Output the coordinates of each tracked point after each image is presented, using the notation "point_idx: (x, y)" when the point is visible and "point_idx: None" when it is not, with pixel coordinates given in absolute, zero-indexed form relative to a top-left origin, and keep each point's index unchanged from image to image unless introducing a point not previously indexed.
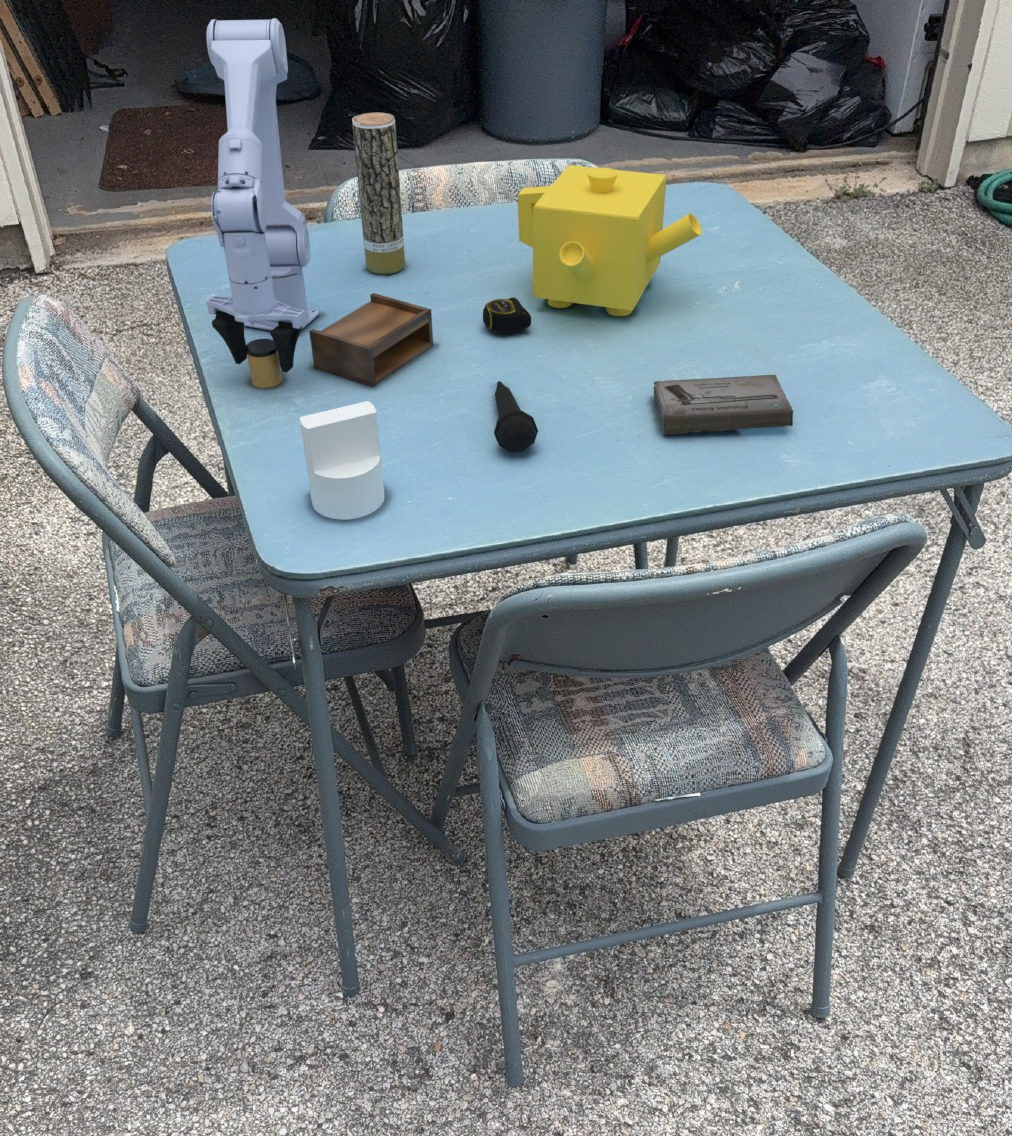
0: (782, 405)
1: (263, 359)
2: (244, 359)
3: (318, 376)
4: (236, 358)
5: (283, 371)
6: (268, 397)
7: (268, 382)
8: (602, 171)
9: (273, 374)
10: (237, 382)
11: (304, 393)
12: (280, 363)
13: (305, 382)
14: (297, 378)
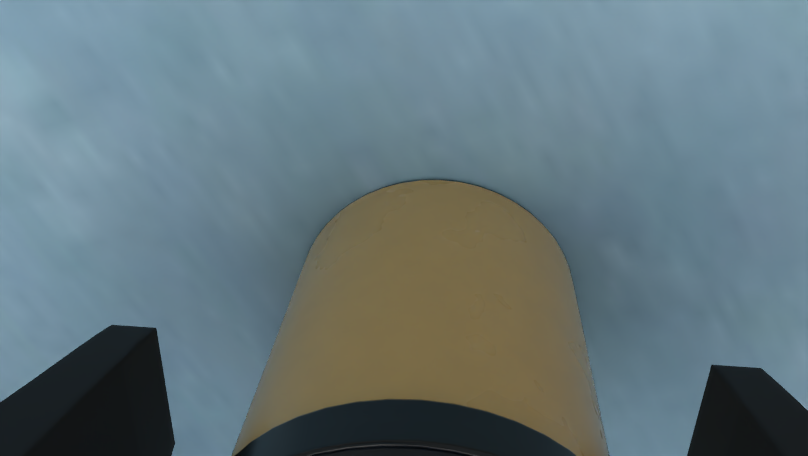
0: None
1: (301, 397)
2: (691, 452)
3: None
4: (758, 406)
5: (133, 332)
6: (259, 40)
7: (342, 229)
8: None
9: (288, 308)
10: (701, 215)
11: (6, 199)
12: (85, 384)
13: None
14: (218, 388)
